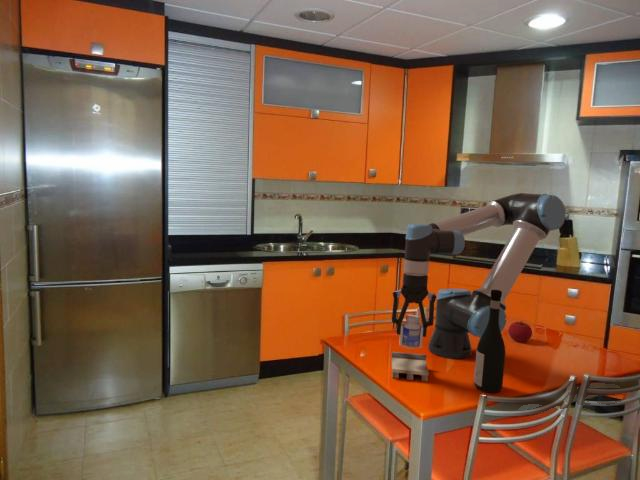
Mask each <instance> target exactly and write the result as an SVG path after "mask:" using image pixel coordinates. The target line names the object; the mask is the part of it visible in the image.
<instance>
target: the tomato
mask: <svg viewBox="0 0 640 480" xmlns="http://www.w3.org/2000/svg"><path fill="white" fill-rule="evenodd" d="M507 330H508V331H507V332H508V335H509V337H510V338H511V339H512V340H514V341H516V342H527V341H528V340H530V339H531V338H532V336H533V330H532V328H531V325H529V324H528V323H525V322H523V321H522V320H521V321H515V322H512V323H511V324H510V325H509V327H508V328H507Z"/></svg>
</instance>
